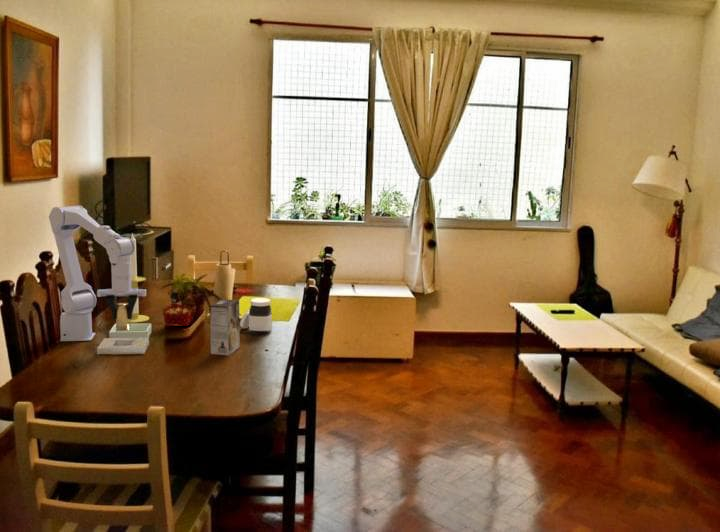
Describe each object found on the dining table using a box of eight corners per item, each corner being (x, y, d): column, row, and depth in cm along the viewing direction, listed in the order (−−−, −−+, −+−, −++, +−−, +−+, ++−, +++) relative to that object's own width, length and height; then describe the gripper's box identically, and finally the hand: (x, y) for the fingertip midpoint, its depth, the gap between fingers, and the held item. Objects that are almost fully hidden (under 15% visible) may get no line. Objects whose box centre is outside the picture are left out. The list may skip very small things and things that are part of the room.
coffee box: (221, 345, 221) (221, 298, 218) (240, 347, 220) (240, 299, 217) (210, 354, 212) (209, 304, 209) (229, 356, 211) (228, 306, 208)
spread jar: (268, 336, 233) (269, 304, 231) (236, 335, 233) (236, 302, 231) (274, 327, 245) (274, 296, 243) (243, 325, 245) (243, 294, 243)
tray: (109, 341, 222) (109, 332, 221) (115, 332, 232) (114, 323, 231) (147, 340, 224) (147, 331, 223) (151, 331, 234) (151, 323, 233)
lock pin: (115, 330, 211) (114, 306, 209) (117, 327, 215) (116, 302, 213) (128, 330, 212) (127, 305, 210) (130, 327, 215) (130, 302, 214)
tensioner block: (97, 354, 208) (96, 348, 207) (104, 344, 218) (104, 338, 218) (144, 353, 210) (143, 347, 210) (148, 343, 221) (148, 337, 220)
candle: (119, 317, 251) (116, 231, 245) (147, 314, 255) (145, 230, 249) (122, 323, 242) (119, 234, 236) (151, 321, 247) (148, 234, 241)
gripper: (94, 279, 205) (96, 322, 207) (143, 279, 207) (144, 321, 210) (99, 274, 212) (100, 316, 214) (146, 274, 214) (147, 315, 217)
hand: (122, 318), depth 213 cm, fingers closed on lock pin, 4 cm apart
